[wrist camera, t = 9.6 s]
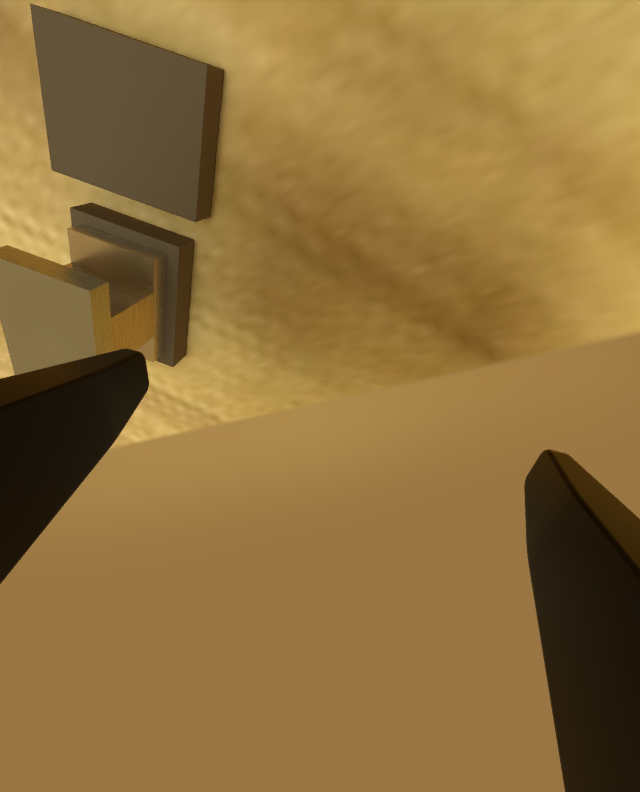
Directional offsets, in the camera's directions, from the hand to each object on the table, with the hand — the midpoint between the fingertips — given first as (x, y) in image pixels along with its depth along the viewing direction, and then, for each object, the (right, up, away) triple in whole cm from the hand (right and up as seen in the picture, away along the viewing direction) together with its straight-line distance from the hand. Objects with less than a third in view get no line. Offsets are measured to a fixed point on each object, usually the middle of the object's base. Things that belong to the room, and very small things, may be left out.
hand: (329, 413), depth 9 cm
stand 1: (-8, +13, +9) cm, 18 cm away
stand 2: (-10, +7, +14) cm, 19 cm away
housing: (-11, +6, +13) cm, 18 cm away
